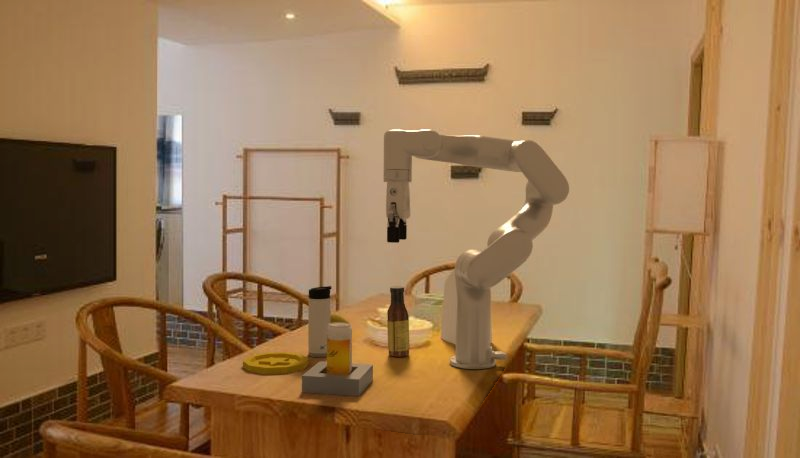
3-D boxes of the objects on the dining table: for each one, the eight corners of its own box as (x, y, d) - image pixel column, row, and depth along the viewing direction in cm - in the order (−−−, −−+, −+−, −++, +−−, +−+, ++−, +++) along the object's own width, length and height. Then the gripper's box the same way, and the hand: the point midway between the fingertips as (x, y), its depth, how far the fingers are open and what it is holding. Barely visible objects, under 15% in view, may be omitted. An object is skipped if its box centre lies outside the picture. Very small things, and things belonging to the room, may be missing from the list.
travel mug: (327, 358, 207) (327, 288, 205) (305, 356, 208) (305, 287, 207) (334, 353, 213) (334, 285, 211) (312, 351, 214) (312, 284, 213)
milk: (472, 335, 239) (474, 256, 237) (491, 342, 229) (493, 260, 227) (440, 338, 234) (441, 257, 232) (458, 346, 223) (459, 261, 222)
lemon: (311, 340, 229) (311, 315, 229) (324, 335, 236) (325, 311, 236) (341, 344, 225) (341, 318, 224) (354, 339, 232) (354, 314, 231)
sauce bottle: (412, 354, 212) (413, 286, 211) (403, 358, 207) (404, 289, 205) (392, 351, 215) (393, 284, 214) (383, 356, 210) (383, 287, 208)
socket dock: (372, 380, 185) (373, 364, 184) (358, 396, 171) (359, 379, 171) (319, 376, 188) (319, 361, 187) (301, 392, 174) (301, 375, 174)
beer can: (327, 381, 182) (327, 321, 181) (351, 380, 183) (351, 321, 182) (326, 388, 176) (326, 326, 175) (351, 387, 177) (352, 326, 176)
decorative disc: (310, 373, 192) (310, 366, 192) (242, 376, 188) (242, 368, 188) (306, 358, 208) (306, 351, 208) (243, 360, 205) (243, 353, 205)
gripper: (405, 176, 185) (404, 244, 186) (417, 177, 202) (416, 238, 203) (376, 176, 187) (375, 243, 188) (390, 176, 203) (390, 238, 205)
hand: (397, 240), depth 195 cm, fingers open, 9 cm apart
